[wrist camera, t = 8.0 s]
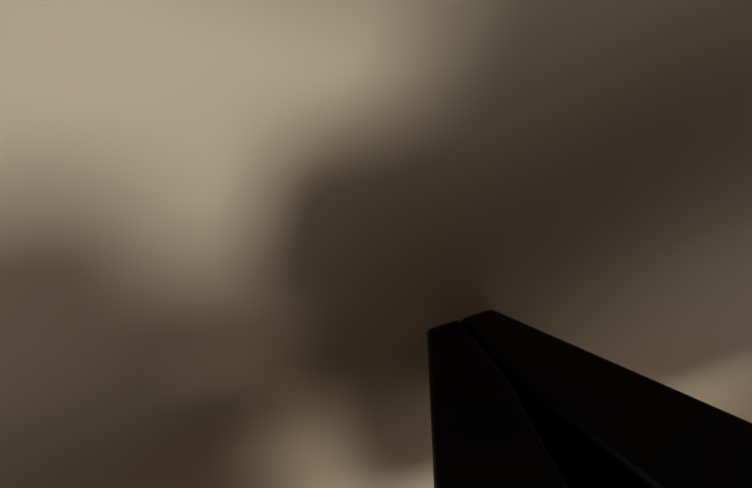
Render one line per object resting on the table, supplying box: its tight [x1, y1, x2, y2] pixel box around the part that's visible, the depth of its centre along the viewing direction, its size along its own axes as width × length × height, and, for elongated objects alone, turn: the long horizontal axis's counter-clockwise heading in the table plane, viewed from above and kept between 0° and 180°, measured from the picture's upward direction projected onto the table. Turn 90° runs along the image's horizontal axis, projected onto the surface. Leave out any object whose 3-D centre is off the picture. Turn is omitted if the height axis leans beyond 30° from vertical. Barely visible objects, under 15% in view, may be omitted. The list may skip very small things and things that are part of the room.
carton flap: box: [0, 0, 752, 488], centre depth 8 cm, size 10×12×1 cm
